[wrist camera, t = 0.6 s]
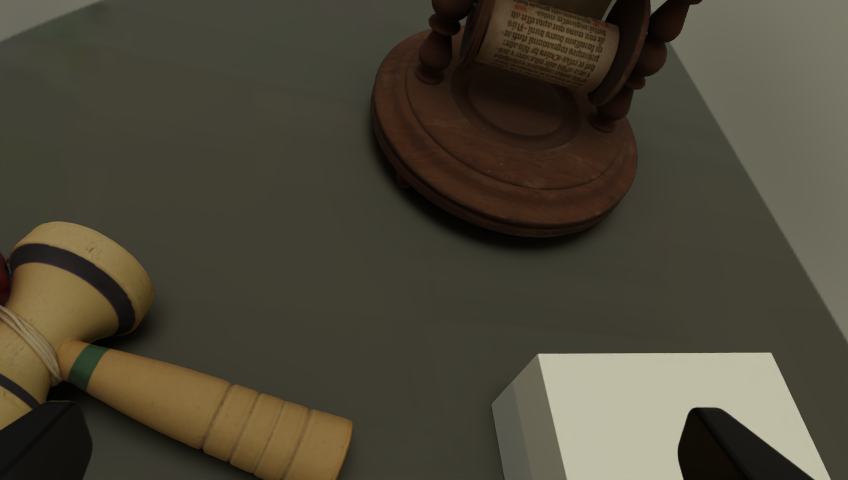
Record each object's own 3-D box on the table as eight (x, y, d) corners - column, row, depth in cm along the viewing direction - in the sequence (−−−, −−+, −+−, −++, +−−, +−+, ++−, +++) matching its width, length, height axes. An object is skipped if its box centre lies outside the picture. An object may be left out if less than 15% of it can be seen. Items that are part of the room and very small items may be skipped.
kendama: (356, 371, 26) (-73, 197, 23) (397, 338, 20) (-161, 103, 18) (283, 567, 22) (-236, 388, 20) (309, 590, 17) (-409, 346, 14)
